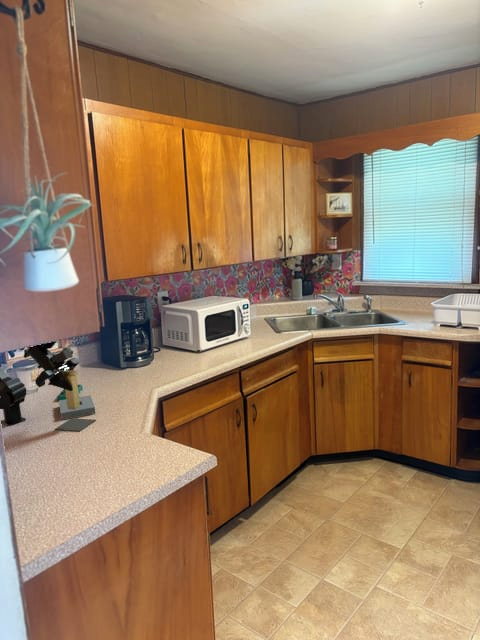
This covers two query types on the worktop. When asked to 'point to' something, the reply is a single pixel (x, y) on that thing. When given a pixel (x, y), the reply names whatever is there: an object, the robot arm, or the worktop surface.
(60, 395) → the digital multimeter
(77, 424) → the rubber mat
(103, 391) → the worktop surface
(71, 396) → the brass key
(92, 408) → the block
